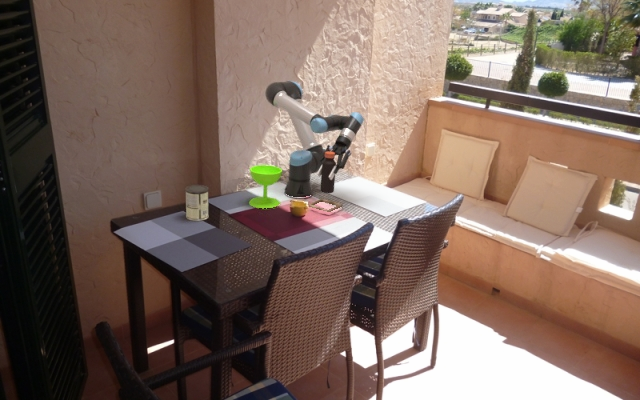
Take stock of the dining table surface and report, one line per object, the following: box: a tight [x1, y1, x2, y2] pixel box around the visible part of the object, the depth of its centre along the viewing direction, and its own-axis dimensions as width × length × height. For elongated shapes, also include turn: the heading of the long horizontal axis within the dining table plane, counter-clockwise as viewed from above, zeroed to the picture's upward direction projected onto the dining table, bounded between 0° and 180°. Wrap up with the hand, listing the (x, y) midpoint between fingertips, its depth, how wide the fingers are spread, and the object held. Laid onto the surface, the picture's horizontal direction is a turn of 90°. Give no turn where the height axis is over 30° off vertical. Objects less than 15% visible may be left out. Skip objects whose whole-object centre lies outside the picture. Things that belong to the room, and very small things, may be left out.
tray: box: [307, 198, 344, 212], centre depth 260 cm, size 13×13×2 cm
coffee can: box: [185, 184, 210, 222], centre depth 236 cm, size 10×10×14 cm
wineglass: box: [248, 164, 283, 210], centre depth 259 cm, size 16×16×18 cm
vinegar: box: [319, 151, 337, 194], centre depth 254 cm, size 7×7×20 cm
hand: (324, 176), depth 251 cm, fingers closed on vinegar, 6 cm apart
